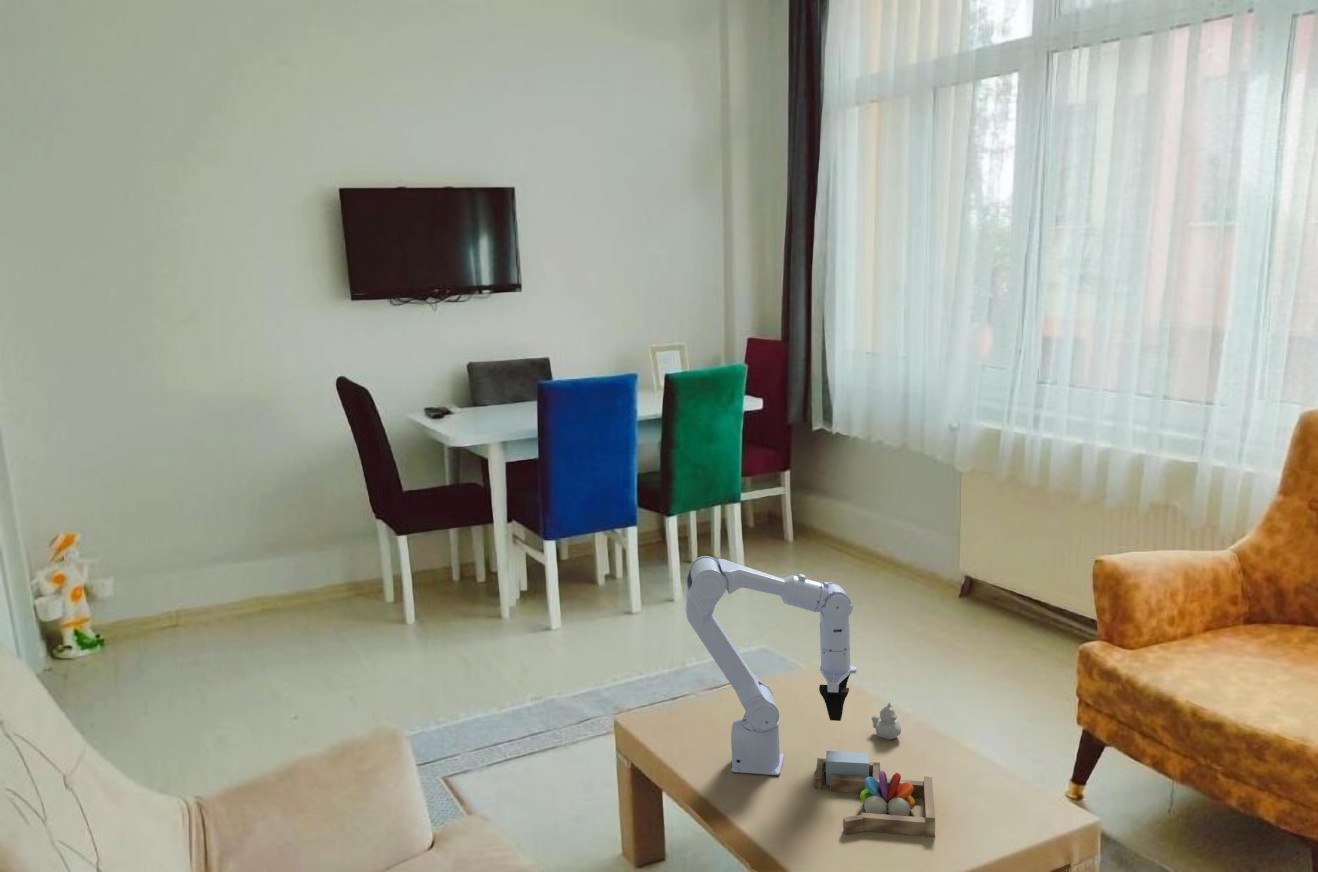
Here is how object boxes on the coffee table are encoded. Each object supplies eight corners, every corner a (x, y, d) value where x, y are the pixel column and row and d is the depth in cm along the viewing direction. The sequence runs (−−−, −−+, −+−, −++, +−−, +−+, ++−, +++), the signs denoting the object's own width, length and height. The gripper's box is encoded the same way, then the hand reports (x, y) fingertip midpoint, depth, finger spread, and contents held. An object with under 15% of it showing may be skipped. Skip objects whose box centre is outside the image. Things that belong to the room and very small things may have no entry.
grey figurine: (892, 746, 197) (892, 710, 196) (865, 736, 202) (864, 700, 200) (906, 736, 201) (906, 700, 199) (879, 726, 205) (879, 691, 204)
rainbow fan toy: (915, 825, 170) (915, 787, 168) (859, 820, 172) (858, 783, 171) (915, 799, 178) (914, 763, 177) (861, 794, 180) (860, 759, 179)
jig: (808, 831, 169) (807, 813, 169) (817, 767, 190) (817, 751, 190) (935, 842, 164) (935, 823, 164) (930, 775, 185) (930, 758, 185)
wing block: (826, 785, 184) (825, 761, 183) (827, 774, 188) (826, 750, 187) (869, 788, 182) (868, 763, 182) (869, 776, 186) (868, 752, 185)
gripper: (853, 662, 181) (855, 729, 183) (858, 632, 195) (859, 695, 197) (815, 660, 183) (817, 727, 185) (822, 631, 196) (824, 693, 199)
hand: (836, 710), depth 191 cm, fingers open, 7 cm apart
